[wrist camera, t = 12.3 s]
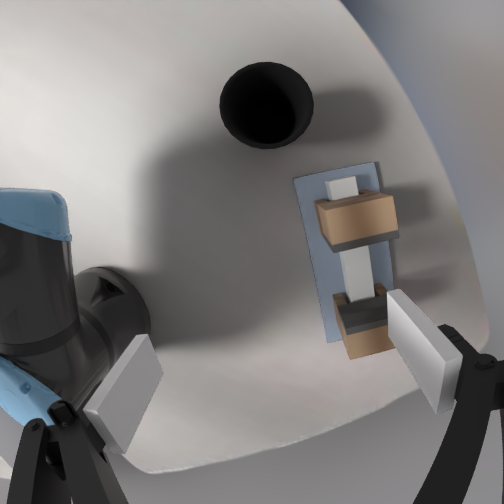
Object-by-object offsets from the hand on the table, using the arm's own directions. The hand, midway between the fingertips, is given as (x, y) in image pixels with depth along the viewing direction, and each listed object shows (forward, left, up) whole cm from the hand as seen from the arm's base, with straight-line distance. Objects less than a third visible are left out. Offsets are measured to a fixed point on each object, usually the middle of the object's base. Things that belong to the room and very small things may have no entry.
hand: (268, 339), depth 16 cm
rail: (+9, -4, -23) cm, 25 cm away
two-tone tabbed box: (+9, -10, -22) cm, 26 cm away
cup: (+3, +14, -24) cm, 27 cm away
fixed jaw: (+9, +2, -22) cm, 24 cm away
